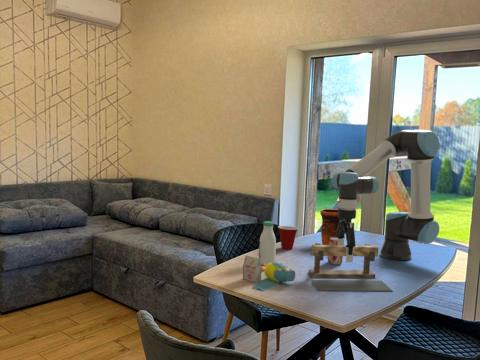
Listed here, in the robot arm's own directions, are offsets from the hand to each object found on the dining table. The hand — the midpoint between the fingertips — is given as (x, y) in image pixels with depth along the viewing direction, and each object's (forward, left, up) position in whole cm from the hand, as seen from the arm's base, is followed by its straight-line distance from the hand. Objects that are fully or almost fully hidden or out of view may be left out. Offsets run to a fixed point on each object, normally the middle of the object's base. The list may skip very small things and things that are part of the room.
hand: (344, 257), depth 191 cm
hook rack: (0, -2, -9) cm, 9 cm away
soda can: (-2, -22, -9) cm, 24 cm away
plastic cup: (+17, -48, -9) cm, 52 cm away
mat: (0, +10, -9) cm, 14 cm away
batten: (0, 0, +1) cm, 1 cm away
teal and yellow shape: (+30, +5, -10) cm, 32 cm away
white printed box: (+40, +4, -9) cm, 41 cm away
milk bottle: (+31, -20, -9) cm, 38 cm away
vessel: (-9, -55, -9) cm, 57 cm away
